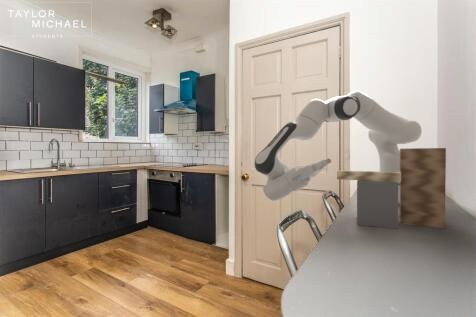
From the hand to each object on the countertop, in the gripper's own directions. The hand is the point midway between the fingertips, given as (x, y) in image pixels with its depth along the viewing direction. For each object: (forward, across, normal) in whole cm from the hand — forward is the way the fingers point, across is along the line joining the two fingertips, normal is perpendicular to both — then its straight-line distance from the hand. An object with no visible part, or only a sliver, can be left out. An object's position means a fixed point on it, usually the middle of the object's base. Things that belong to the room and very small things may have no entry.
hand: (328, 160), depth 96 cm
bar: (+8, 0, +13) cm, 15 cm away
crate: (+3, 0, +27) cm, 27 cm away
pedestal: (+14, +8, +34) cm, 38 cm away
